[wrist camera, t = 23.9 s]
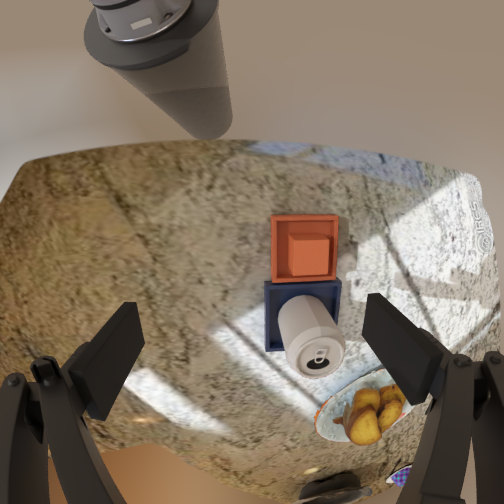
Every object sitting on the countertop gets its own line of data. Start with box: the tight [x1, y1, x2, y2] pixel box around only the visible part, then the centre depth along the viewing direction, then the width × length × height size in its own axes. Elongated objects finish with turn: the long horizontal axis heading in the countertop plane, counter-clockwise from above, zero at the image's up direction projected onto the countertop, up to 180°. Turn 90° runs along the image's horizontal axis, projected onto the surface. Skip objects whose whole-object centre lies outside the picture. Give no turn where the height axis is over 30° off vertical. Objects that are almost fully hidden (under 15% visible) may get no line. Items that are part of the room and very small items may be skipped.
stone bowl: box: [293, 473, 372, 504], centre depth 54 cm, size 25×25×9 cm
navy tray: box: [264, 278, 342, 352], centre depth 41 cm, size 11×11×2 cm
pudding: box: [386, 465, 412, 487], centre depth 58 cm, size 12×12×5 cm
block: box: [288, 233, 329, 276], centre depth 37 cm, size 5×5×5 cm
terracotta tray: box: [271, 214, 339, 283], centre depth 38 cm, size 9×9×2 cm
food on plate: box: [314, 368, 416, 446], centre depth 45 cm, size 25×25×7 cm
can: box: [278, 295, 346, 379], centre depth 36 cm, size 8×8×12 cm
